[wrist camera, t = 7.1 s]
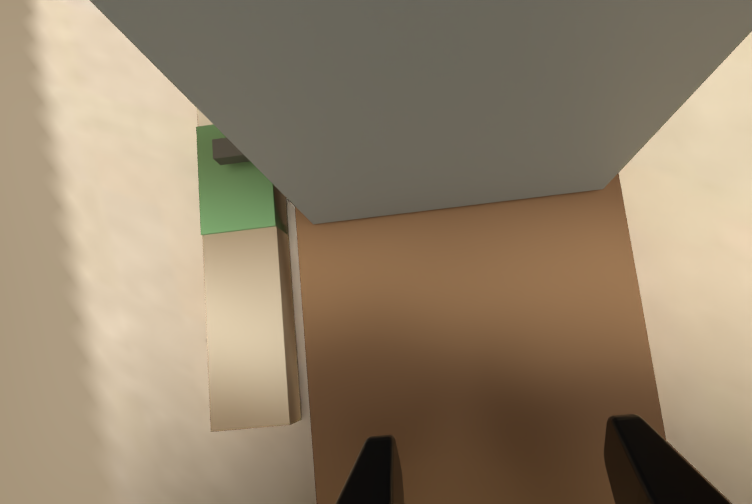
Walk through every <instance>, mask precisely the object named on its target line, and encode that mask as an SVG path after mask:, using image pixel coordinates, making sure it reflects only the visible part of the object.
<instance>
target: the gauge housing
mask: <svg viewBox="0 0 752 504" xmlns="http://www.w3.org/2000/svg"><path fill="white" fill-rule="evenodd" d="M197 121H198V127H196V131H197V154H198V178H199V201H200V225H201V235H202V237H203V260H204V283H205V306H206V329H207V352H208V376H209V399H210V422H211V432H214V431H225V430H237V429H248V428H259V427H270V426H281V425H290V424H293V423H295V422H297V421H299V420H301V408H300V394H299V380H298V366H297V352H296V337H295V323H294V309H293V295H292V281H291V266H290V252H289V238H288V224H287V210H286V197H285V196H284V195H283V194H282V193H281V192H280V191H279V190H278V189H277V188H276V186H275V185H274V184H273V183H272V182H271V181H270V180H269V179H268V178H267V177H266V176H265V175H264V174H263V173H262V172H261V171H260V170H259V169H258V168H257V167H256V166H255V165H254V164H253V163H252V162H251V161H249V162H241V163H234V164H226V165H220V164H218V163H217V162H216V161H215V160H214V159H213V150H212V139H219V138H227V137H226V136H225V135H224V134H223V133H222V132H221V131H220V130H219V129H218V128H217V127H216V126H215V125H214V124H213V123H212V122H211V121H210V120H209V119H208V118H207V117H206V116H205V115H204V114H203V113H202V112H201V111H200V110H199V109H198V108H197ZM295 213H296V227H297V240H298V254H299V268H300V281H301V295H302V309H303V322H304V336H305V350H306V363H307V377H308V391H309V404H310V418H311V432H312V445H313V459H314V473H315V486H316V500H317V504H335V503H336V501H337V499H338V497H339V495H340V492H341V490H342V488H343V486H344V484H345V482H346V480H347V478H348V476H349V473H350V471H351V469H352V467H353V465H354V463H355V461H356V459H357V457H358V455H359V452H360V450H361V448H362V446H363V444H364V442H365V441H366V439H367V438H368V437H370V436H378V435H393V436H394V438H395V440H396V445H397V450H398V454H399V459H400V464H401V469H402V478H403V492H404V504H615V501H614V497H613V493H612V490H611V486H610V482H609V478H608V474H607V470H606V466H605V461H604V443H605V434H606V425H607V420H608V418H609V417H610V416H613V415H623V414H637V415H639V416H641V417H642V418H643V419H644V420H645V421H646V422H647V423H648V424H649V425H650V426H651V427H652V428H654V429H655V430H656V431H657V432H658V433H659V434H660V435H661V436H662V437H663V438H664V439H665V440H666V437H665V431H664V426H663V420H662V415H661V409H660V403H659V398H658V392H657V387H656V381H655V375H654V370H653V364H652V359H651V353H650V348H649V342H648V336H647V331H646V325H645V320H644V314H643V308H642V303H641V297H640V292H639V286H638V280H637V275H636V269H635V264H634V258H633V252H632V247H631V241H630V236H629V230H628V224H627V219H626V213H625V208H624V202H623V196H622V191H621V185H620V180H619V174H617V175H616V176H615V177H614V178H613V179H612V180H611V181H610V182H609V183H608V184H607V185H606V186H605V188H604V189H600V190H591V191H583V192H575V193H567V194H559V195H550V196H542V197H534V198H526V199H517V200H509V201H501V202H493V203H484V204H476V205H468V206H460V207H452V208H443V209H435V210H427V211H419V212H410V213H402V214H394V215H386V216H377V217H369V218H361V219H353V220H345V221H336V222H328V223H320V224H312V223H311V222H310V221H309V220H308V219H307V218H306V217H305V216H304V215H303V214H302V213H301V212H300V211H299V210H298V209H297V208H296V207H295Z"/></svg>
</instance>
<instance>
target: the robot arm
mask: <svg viewBox="0 0 752 504" xmlns="http://www.w3.org/2000/svg"><path fill="white" fill-rule="evenodd" d="M604 461H605V466H606V470H607V474H608V478H609V482H610V486H611V490H612V493H613V497H614V501H615V504H732V503H731V502H730V501H729V500H728V499H727V498H726V497H725V496H724V495H722V494H721V493H720V492H719V491H718V490H717V489H716V488H715V487H714V486H713V485H712V484H711V483H710V482H709V481H708V480H707V479H706V478H705V477H704V476H703V475H702V474H701V473H700V472H698V471H697V470H696V469H695V468H694V467H693V466H692V465H691V464H690V463H689V462H688V461H687V460H686V459H685V458H684V457H683V456H682V455H681V454H680V453H679V452H678V451H677V450H675V449H674V448H673V447H672V446H671V445H670V444H669V443H668V442H667V441H666V440H665V439H664V438H663V437H662V436H661V435H660V434H659V433H658V432H657V431H656V430H655V429H654V428H652V427H651V426H650V425H649V424H648V423H647V422H646V421H645V420H644V419H643V418H642V417H641V416H639V415H637V414H623V415H613V416H610V417H609V418H608V420H607V425H606V434H605V443H604ZM335 504H404V492H403V478H402V469H401V464H400V459H399V454H398V450H397V445H396V440H395V438H394V436H393V435H378V436H370V437H368V438H367V439H366V441H365V442H364V444H363V446H362V448H361V450H360V452H359V455H358V457H357V459H356V461H355V463H354V465H353V467H352V469H351V471H350V473H349V476H348V478H347V480H346V482H345V484H344V486H343V488H342V490H341V492H340V495H339V497H338V499H337V501H336V503H335Z"/></svg>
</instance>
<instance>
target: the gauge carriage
mask: <svg viewBox="0 0 752 504" xmlns="http://www.w3.org/2000/svg"><path fill="white" fill-rule="evenodd" d="M90 1H91V2H92V3H93V4H94V5H95V6H96V7H97V8H98V9H99V10H100V11H101V12H102V13H103V14H104V15H105V16H106V17H107V18H108V19H109V20H110V21H111V22H112V23H113V24H114V25H115V26H116V27H117V28H118V29H119V30H120V31H121V32H122V33H123V34H124V35H125V36H126V37H127V38H128V39H129V40H130V41H131V42H132V43H133V44H134V45H135V46H136V47H137V48H138V49H139V50H140V51H141V52H142V53H143V54H144V55H145V56H146V57H147V58H148V59H149V60H150V61H151V62H152V63H153V64H154V65H155V66H156V67H157V68H158V69H159V70H160V71H161V72H162V73H163V74H164V75H165V76H166V77H167V78H168V79H169V80H170V81H171V82H172V83H173V84H174V85H175V86H176V87H177V88H178V89H179V90H180V91H181V92H182V93H183V94H184V95H185V96H186V97H187V98H188V99H189V100H190V101H191V102H192V103H193V104H194V105H195V106H196V107H197V108H198V109H199V110H200V111H201V112H202V113H203V114H204V115H205V116H206V117H207V118H208V119H209V120H210V121H211V122H212V123H213V124H214V125H215V126H216V127H217V128H218V129H219V130H220V131H221V132H222V133H223V134H224V135H225V136H226V137H227V138H219V139H212V150H213V159H214V160H215V161H216V162H217V163H218V164H220V165H226V164H234V163H241V162H249V161H251V162H252V163H253V164H254V165H255V166H256V167H257V168H258V169H259V170H260V171H261V172H262V173H263V174H264V175H265V176H266V177H267V178H268V179H269V180H270V181H271V182H272V183H273V184H274V185H275V186H276V188H277V189H278V190H279V191H280V192H281V193H282V194H283V195H284V196H285V197H286V198H287V199H288V200H289V201H290V202H291V203H292V204H293V205H294V206H295V207H296V208H297V209H298V210H299V211H300V212H301V213H302V214H303V215H304V216H305V217H306V218H307V219H308V220H309V221H310V222H311V223H312V224H320V223H328V222H336V221H345V220H353V219H361V218H369V217H377V216H386V215H394V214H402V213H410V212H419V211H427V210H435V209H443V208H452V207H460V206H468V205H476V204H484V203H493V202H501V201H509V200H517V199H526V198H534V197H542V196H550V195H559V194H567V193H575V192H583V191H591V190H600V189H604V188H605V186H606V185H607V184H608V183H609V182H610V181H611V180H612V179H613V178H614V177H615V176H616V175H617V174H618V173H619V172H620V171H621V169H622V168H623V167H624V166H625V165H626V164H627V163H628V162H629V161H630V160H631V159H632V158H633V157H634V156H635V155H636V153H637V152H638V151H639V150H640V149H641V148H642V147H643V146H644V145H645V144H646V143H647V142H648V141H649V140H650V139H651V138H652V136H653V135H654V134H655V133H656V132H657V131H658V130H659V129H660V128H661V127H662V126H663V125H664V124H665V123H666V122H667V121H668V119H669V118H670V117H671V116H672V115H673V114H674V113H675V112H676V111H677V110H678V109H679V108H680V107H681V106H682V105H683V104H684V102H685V101H686V100H687V99H688V98H689V97H690V96H691V95H692V94H693V93H694V92H695V91H696V90H697V89H698V88H699V87H700V85H701V84H702V83H703V82H704V81H705V80H706V79H707V78H708V77H709V76H710V75H711V74H712V73H713V72H714V71H715V69H716V68H717V67H718V66H719V65H720V64H721V63H722V62H723V61H724V60H725V59H726V58H727V57H728V56H729V55H730V54H731V52H732V51H733V50H734V49H735V48H736V47H737V46H738V45H739V44H740V43H741V42H742V41H743V40H744V39H745V38H746V37H747V35H748V34H749V33H750V32H751V31H752V0H90Z"/></svg>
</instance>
